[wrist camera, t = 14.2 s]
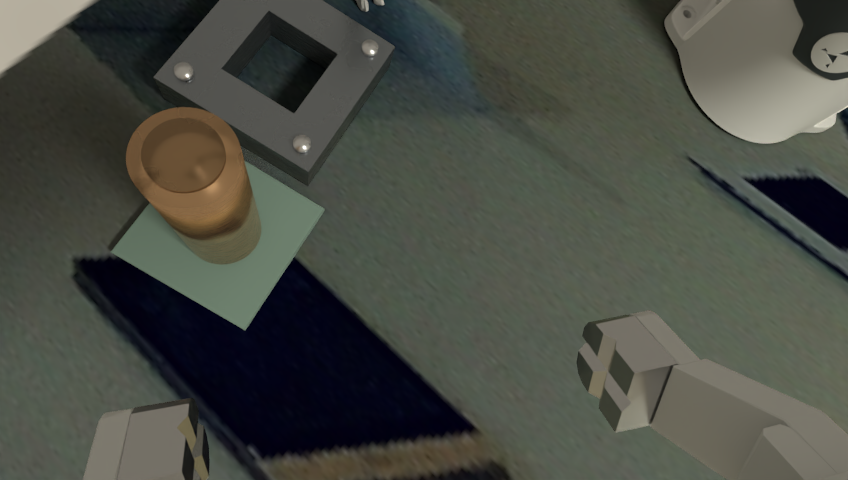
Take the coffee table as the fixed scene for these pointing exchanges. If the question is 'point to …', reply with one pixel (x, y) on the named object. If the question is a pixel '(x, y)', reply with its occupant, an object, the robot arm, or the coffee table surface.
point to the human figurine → (363, 4)
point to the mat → (230, 283)
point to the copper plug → (196, 182)
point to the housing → (254, 112)
